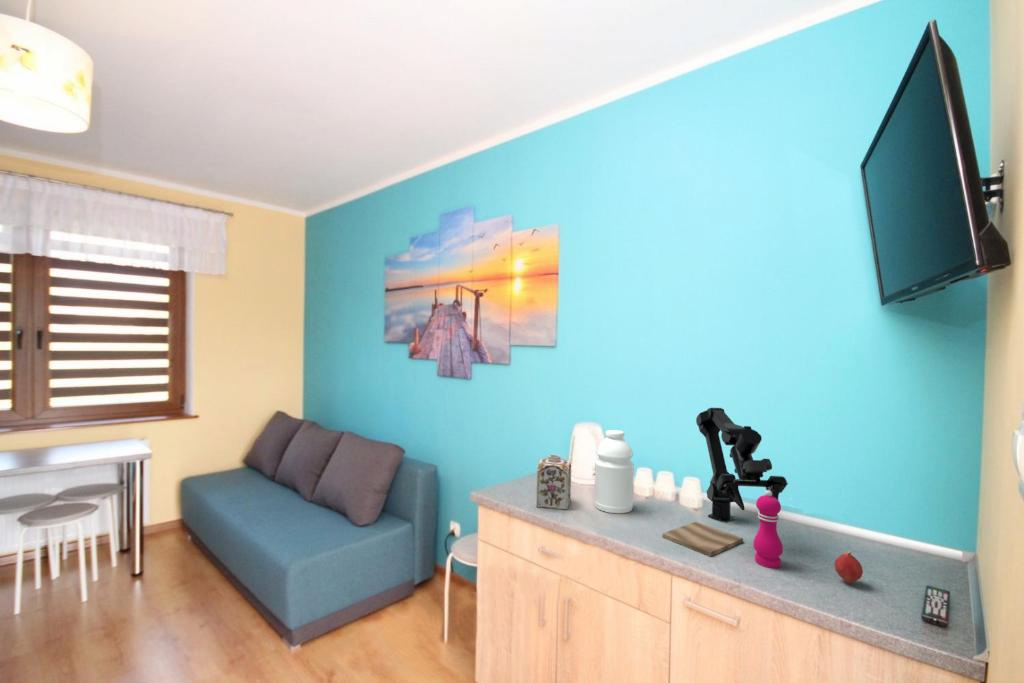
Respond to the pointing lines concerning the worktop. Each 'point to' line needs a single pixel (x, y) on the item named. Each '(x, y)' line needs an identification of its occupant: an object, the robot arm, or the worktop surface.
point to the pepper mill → (768, 532)
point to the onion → (848, 567)
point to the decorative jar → (553, 482)
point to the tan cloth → (702, 538)
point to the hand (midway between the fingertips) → (760, 510)
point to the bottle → (614, 474)
